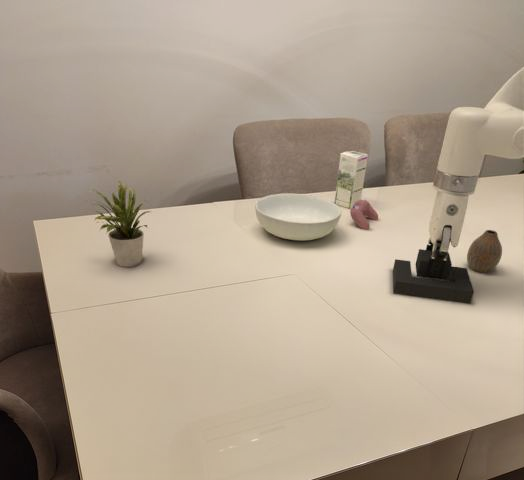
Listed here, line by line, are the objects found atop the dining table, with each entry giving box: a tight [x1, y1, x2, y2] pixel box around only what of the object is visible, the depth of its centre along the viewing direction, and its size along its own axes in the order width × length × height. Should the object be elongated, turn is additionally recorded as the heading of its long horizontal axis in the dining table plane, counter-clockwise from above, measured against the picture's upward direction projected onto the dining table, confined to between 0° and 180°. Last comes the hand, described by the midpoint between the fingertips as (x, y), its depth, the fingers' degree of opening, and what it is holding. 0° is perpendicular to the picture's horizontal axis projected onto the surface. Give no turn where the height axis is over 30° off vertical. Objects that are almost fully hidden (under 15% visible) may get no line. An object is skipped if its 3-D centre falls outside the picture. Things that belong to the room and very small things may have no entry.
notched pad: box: [392, 258, 475, 305], centre depth 102 cm, size 15×11×3 cm
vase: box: [466, 229, 503, 274], centre depth 110 cm, size 7×7×9 cm
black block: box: [415, 248, 453, 281], centre depth 102 cm, size 6×6×4 cm
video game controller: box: [349, 199, 379, 231], centre depth 132 cm, size 10×5×7 cm, turn 154°
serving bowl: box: [254, 193, 342, 241], centre depth 123 cm, size 21×21×7 cm
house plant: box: [84, 180, 151, 268], centre depth 103 cm, size 14×14×16 cm
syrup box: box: [334, 150, 369, 210], centre depth 141 cm, size 6×6×14 cm
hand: (431, 269), depth 103 cm, fingers closed on black block, 6 cm apart
